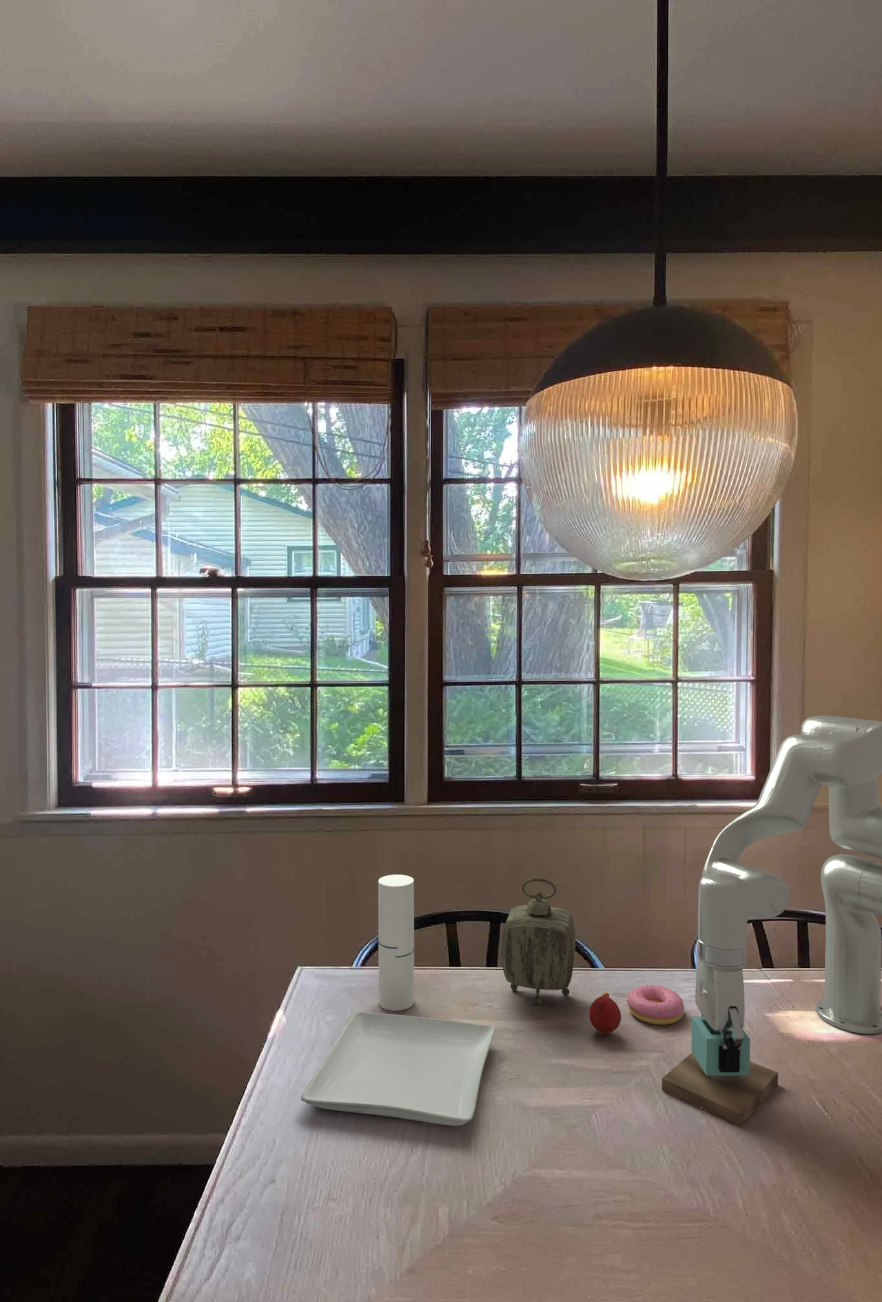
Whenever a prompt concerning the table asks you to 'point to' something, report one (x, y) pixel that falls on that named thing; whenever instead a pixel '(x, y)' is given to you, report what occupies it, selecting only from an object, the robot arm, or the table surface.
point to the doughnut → (655, 1004)
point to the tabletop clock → (538, 945)
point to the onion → (604, 1014)
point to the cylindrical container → (396, 942)
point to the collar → (715, 1048)
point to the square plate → (403, 1068)
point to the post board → (720, 1089)
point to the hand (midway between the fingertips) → (720, 1057)
